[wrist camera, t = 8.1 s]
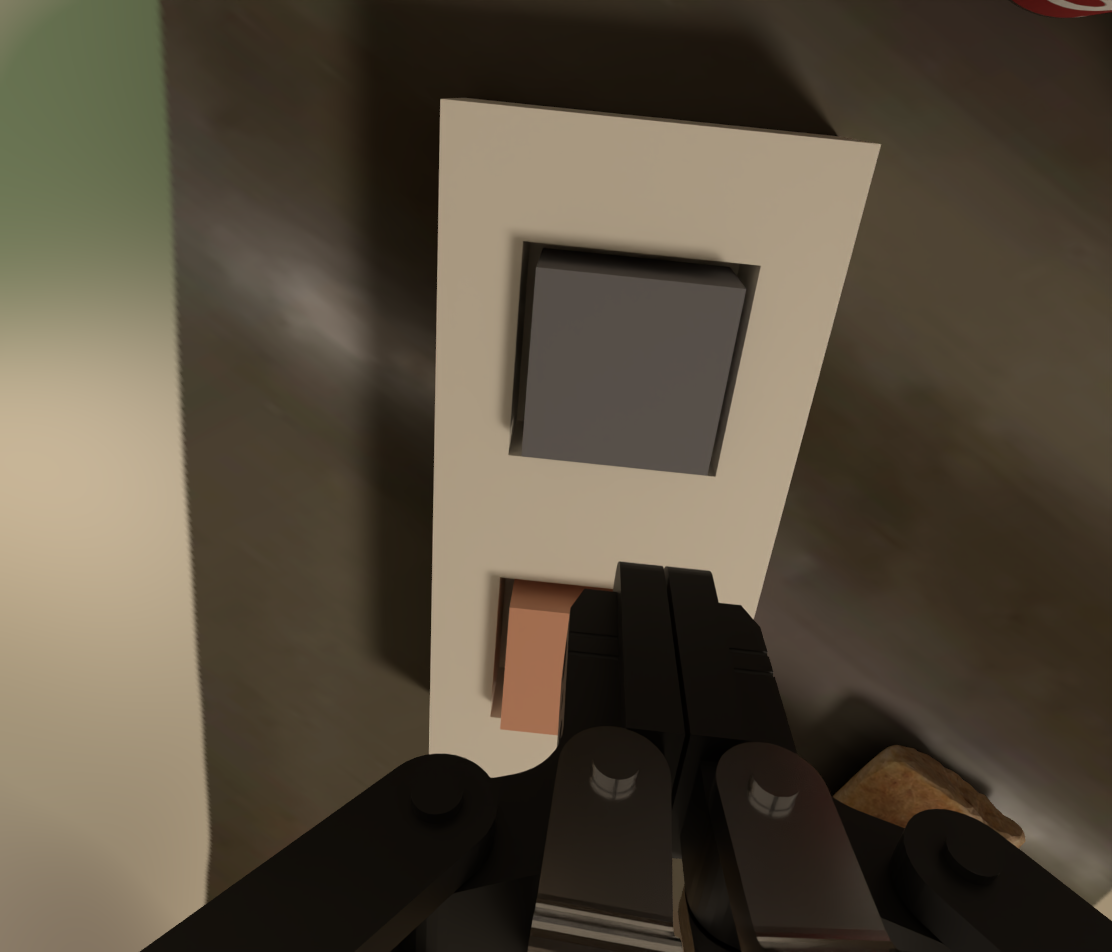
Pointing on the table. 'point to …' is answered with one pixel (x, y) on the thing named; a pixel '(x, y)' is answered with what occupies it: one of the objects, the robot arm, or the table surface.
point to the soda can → (1065, 7)
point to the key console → (503, 357)
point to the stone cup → (919, 792)
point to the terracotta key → (536, 654)
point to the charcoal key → (629, 360)
